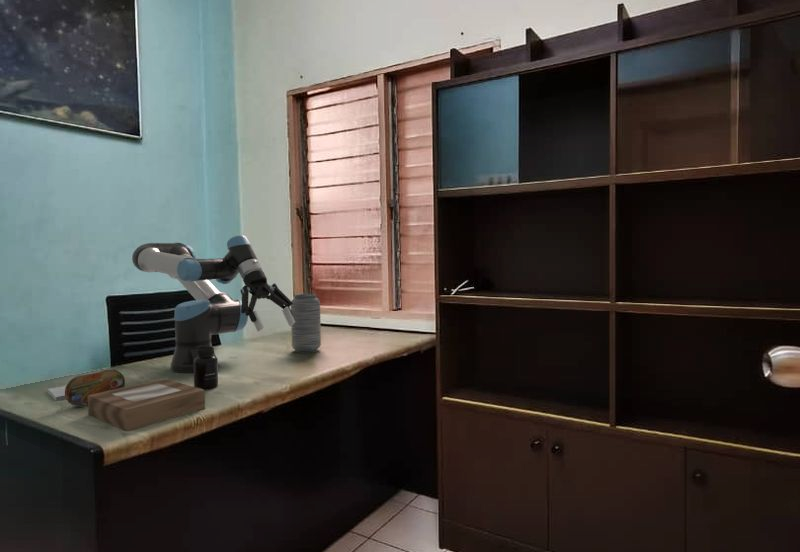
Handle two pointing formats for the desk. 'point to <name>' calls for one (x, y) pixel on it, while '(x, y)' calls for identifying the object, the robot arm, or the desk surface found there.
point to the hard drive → (57, 393)
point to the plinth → (145, 403)
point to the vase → (306, 323)
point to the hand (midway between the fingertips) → (277, 326)
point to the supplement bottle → (205, 369)
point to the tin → (92, 386)
